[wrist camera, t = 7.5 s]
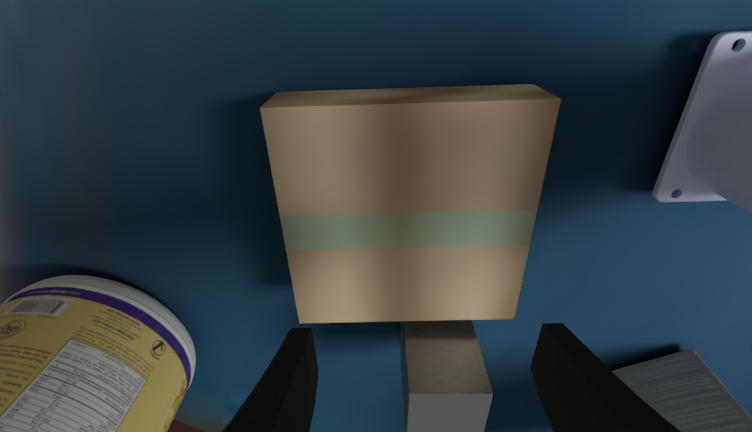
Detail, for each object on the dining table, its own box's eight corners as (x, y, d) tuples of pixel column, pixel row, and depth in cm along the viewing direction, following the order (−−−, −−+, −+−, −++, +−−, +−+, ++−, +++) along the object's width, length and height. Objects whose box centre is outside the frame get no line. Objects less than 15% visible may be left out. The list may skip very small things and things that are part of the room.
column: (463, 293, 24) (493, 393, 18) (457, 337, 26) (481, 440, 20) (401, 293, 24) (409, 393, 18) (399, 337, 26) (406, 440, 20)
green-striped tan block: (533, 83, 17) (561, 98, 15) (498, 283, 23) (513, 319, 21) (277, 91, 18) (259, 107, 15) (307, 287, 24) (299, 323, 21)
